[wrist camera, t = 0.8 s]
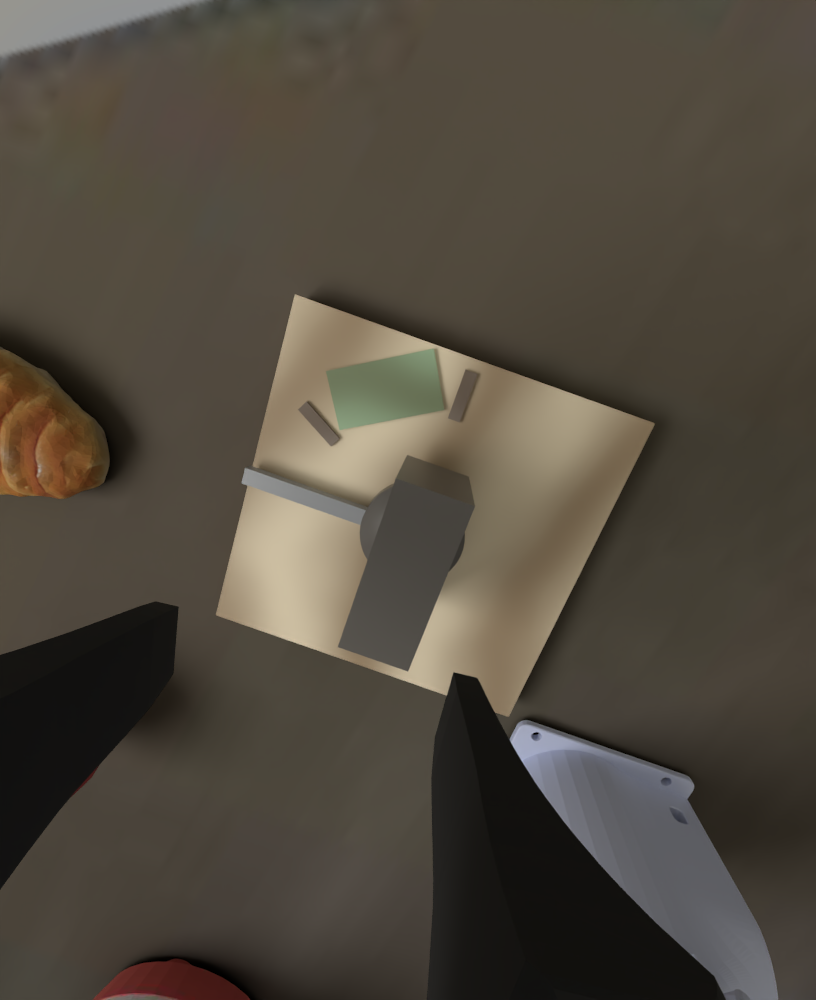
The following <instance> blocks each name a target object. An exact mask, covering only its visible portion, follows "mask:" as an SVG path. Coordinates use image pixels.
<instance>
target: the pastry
mask: <svg viewBox="0 0 816 1000" xmlns="http://www.w3.org/2000/svg"><path fill="white" fill-rule="evenodd" d="M109 463H110V459H109V450H108V444H107V440H106V436H105V432H104V430H103V429H102V427H101V426H100V425H99V424H98V422H97V421H96V420H95V419H94V418H93V417H91V416H90V415H89V414H87V413H86V412H85V411H83V410H82V409H81V408H80V407H79V405H78V404H76V403H75V402H74V401H73V400H72V398H71V397H70V396H69V395H68V394H66V393H65V392H64V391H63V390H62V389H61V387H60V386H59V384H58V383H57V381H56V380H55V379H54V378H53V377H52V376H51V375H50V374H49V373H48V372H47V371H46V370H43V369H40V368H37V367H35V366H33V365H32V364H30V363H28V362H27V361H25V360H24V359H22V358H20V357H19V356H17V355H15V354H14V353H12V352H10V351H7V350H5V349H4V348H2V347H0V494H11V495H16V496H20V497H23V496H31V495H33V496H46V497H53V498H58V499H65V498H68V497H71V496H73V495H75V494H77V493H79V492H81V491H84V490H88V489H92V488H95V487H98V486H100V485H101V484H103V483H104V481H105V478H106V475H107V472H108V468H109Z"/></svg>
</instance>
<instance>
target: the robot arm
mask: <svg viewBox="0 0 816 1000" xmlns="http://www.w3.org/2000/svg"><path fill="white" fill-rule="evenodd" d="M177 620H178V607H177V606H173V605H168V604H164V603H160V602H152V603H149V604H146V605H143V606H140V607H137V608H134V609H131V610H128V611H126V612H123V613H120V614H118V615H115V616H112V617H110V618H107V619H104V620H102V621H99V622H96V623H93V624H91V625H88V626H85V627H83V628H80V629H77V630H74V631H72V632H69V633H66V634H63V635H60V636H57V637H54V638H51V639H48V640H45V641H42V642H39V643H36V644H33V645H30V646H27V647H24V648H21V649H18V650H15V651H12V652H9V653H5V654H2V655H0V889H1V888H2V886H3V885H4V884H5V882H6V881H7V879H8V878H9V877H10V875H11V874H12V873H13V871H14V870H15V868H16V867H17V866H18V864H19V863H20V862H21V860H22V859H23V857H24V856H25V855H26V854H27V852H28V851H29V850H30V848H31V847H32V846H33V844H34V843H35V842H36V840H37V839H38V838H39V836H40V835H41V834H42V832H43V831H44V830H45V828H46V827H47V826H48V824H49V823H50V822H51V821H52V819H53V818H54V817H55V815H56V814H57V813H58V811H59V810H60V809H61V808H62V807H63V805H64V804H65V803H66V802H67V801H68V799H69V798H70V797H71V796H72V795H73V794H74V792H75V791H76V790H77V789H78V788H79V787H80V786H81V785H82V783H83V782H84V781H85V780H86V779H87V778H88V777H89V776H90V775H91V773H92V772H93V771H94V770H95V769H96V768H97V767H98V766H99V765H100V763H101V762H102V761H103V760H104V759H105V758H106V757H107V756H108V755H109V753H110V752H111V751H112V750H113V749H114V748H115V747H116V746H117V745H118V743H119V742H120V741H121V740H122V739H123V738H124V737H125V736H126V734H127V733H128V732H129V731H130V730H131V729H132V728H133V727H134V725H135V724H136V723H137V722H138V721H139V720H140V719H141V718H142V716H143V715H144V714H145V713H146V712H147V711H148V709H149V708H150V707H151V705H152V704H153V702H154V701H155V700H156V698H157V697H158V696H159V694H160V693H161V691H162V690H163V688H164V687H165V685H166V684H167V682H168V681H169V679H170V678H171V676H172V675H173V671H174V658H175V645H176V632H177ZM535 732H538V733H539V734H537V735H533V733H535ZM663 778H665V779H663ZM431 779H432V836H433V915H432V931H431V947H430V963H429V977H428V991H427V1000H778V994H777V986H776V981H775V975H774V971H773V966H772V962H771V959H770V955H769V952H768V949H767V946H766V943H765V941H764V938H763V936H762V933H761V931H760V928H759V927H758V925H757V923H756V921H755V919H754V917H753V915H752V913H751V911H750V910H749V908H748V906H747V904H746V902H745V901H744V899H743V897H742V895H741V894H740V892H739V890H738V888H737V887H736V885H735V883H734V881H733V879H732V878H731V876H730V874H729V872H728V871H727V869H726V867H725V865H724V863H723V862H722V860H721V858H720V856H719V855H718V853H717V851H716V849H715V848H714V846H713V844H712V842H711V840H710V839H709V837H708V835H707V833H706V832H705V830H704V828H703V826H702V824H701V823H700V821H699V819H698V817H697V816H696V814H695V812H694V810H693V809H692V807H691V805H690V803H689V801H688V800H687V799H688V797H689V796H690V795H691V793H692V792H693V790H694V784H693V782H692V780H691V779H690V777H689V776H687V775H684V774H681V773H679V772H676V771H673V770H670V769H667V768H664V767H661V766H659V765H656V764H653V763H650V762H647V761H644V760H641V759H638V758H636V757H633V756H630V755H627V754H624V753H621V752H618V751H616V750H613V749H610V748H607V747H604V746H601V745H598V744H595V743H593V742H590V741H587V740H584V739H581V738H578V737H575V736H572V735H570V734H567V733H564V732H561V731H558V730H555V729H552V728H550V727H547V726H544V725H541V724H538V723H535V722H532V721H529V720H523V721H521V722H519V723H518V724H517V726H516V728H515V730H514V732H513V734H512V736H511V738H510V740H509V738H508V736H507V734H506V733H505V731H504V729H503V727H502V725H501V724H500V722H499V720H498V718H497V716H496V714H495V712H494V710H493V708H492V706H491V704H490V702H489V700H488V698H487V696H486V694H485V692H484V690H483V688H482V685H481V683H480V682H479V680H478V678H476V677H472V676H468V675H464V674H459V673H455V672H453V676H452V679H451V683H450V686H449V690H448V693H447V697H446V700H445V704H444V707H443V711H442V714H441V718H440V722H439V725H438V729H437V732H436V736H435V744H434V755H433V766H432V778H431Z"/></svg>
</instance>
